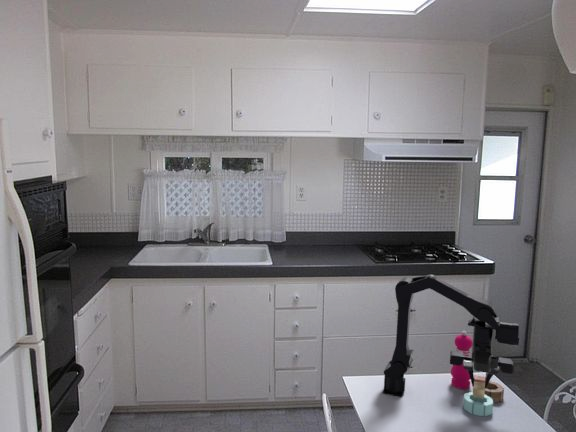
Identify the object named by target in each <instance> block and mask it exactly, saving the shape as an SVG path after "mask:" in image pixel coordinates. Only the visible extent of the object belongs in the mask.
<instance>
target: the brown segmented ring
mask: <svg viewBox="0 0 576 432" xmlns="http://www.w3.org/2000/svg"><path fill="white" fill-rule="evenodd" d="M504 392H505V388H504V387H503V386H502V385H501V384H500V383H498V382H495V381H492V380H490V381H489V383H488V385H487V387H486V389H485V392H484V394H485V395H487V396H489V397H490V398H492V399H493V403H499V402H502V401H503V400H504Z"/></svg>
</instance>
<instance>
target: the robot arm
mask: <svg viewBox="0 0 576 432" xmlns="http://www.w3.org/2000/svg"><path fill="white" fill-rule="evenodd" d="M394 290H395V300H396V303H397V319H396V320H397V321H396V337H395V346H394V347H395V348H394V351H393V354H392V357H391V360H389V362H388V363H387V364H386V367H385V369H384V370H383V375H384V379H383V390H382V393H383V394H385V395H386V394H387V395H392V396H397V397H403V394H404V393H405V392H406V378H405V374H406V373H407V371H408V370H409V369H410V368H411V366H412V363H413V361H414V359H413V354H414V349H410V347H409V335H410V322H411V321H410V320H411V319H410V317H411V305H412V302H413V299H414V295H415V294H417V293H420V292H422V291H426V290H431V291H434V292H436V293H437V294H440V295H441V296H442V297H445V298H446V299H449V300H450V301H452V302H454V303H456V304H458V305H459V306H461V307H463V308H464V309H465V310H466V311H467V312H468V313H469V314H470V315H471V316H472V318H471V319H469V320H468V321H467V326H470V327H473V333H472V334H473V335H472V342H473V344H472V347H471V356H470V355H469V356H463V352H460V351H455V350H451V351H450V352H449V365H451V366H453V365H458V366H460V365H462V364H463V368H464V369H467V371H468V373H469V375H470V384H471V386H472V388H473V387H474V375H475V374H474V371H475V372H484V373H485V376H484V377H485V389H486V387H487V385H488V383H489V381H491V379H492V378H493V376H494V375H498V374H500V372H499V370H500V371H501V372H502V373H504V374H510V375H513V374H514V373H515V365H514V361H513V360H512V359H511V358H506V357H501V356H500V357H498V356H495V355H492V350H493V339H494V340H496V342H497V344H500V345H506V346H507V345H508V346H514V347H519V345H520V334H519V333H520V331H519V330H520V324H519V323H515V322H513V323H511V322H505V321H501V320H500V317H499V316H498V315H497V313H496V312H495V306H494V303H493V302H492V301H490V300H488V299H485V298H482V297H481V296H480V297H479V296H476V295H471V294H469V293H467V292H464V291H463V290H461V289H459V288H457V287H455V286H453V285H452V284H450V283H448V282H447V281H445V280H443V279H441V278H439V277H437V276H436V275H435V274H427V275H423V276H416V277H412V278H410V277H408V276H407V277H403V278H402V277H401V279H399V280H398V282H397V283H396V285H395V286H394ZM494 331H495V332H494ZM493 336H494V338H493Z"/></svg>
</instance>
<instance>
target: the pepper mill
mask: <svg viewBox="0 0 576 432" xmlns="http://www.w3.org/2000/svg"><path fill="white" fill-rule="evenodd" d="M467 334H468V333H467V331H466V330H462V331H461V334H458V335H457V336H456V337H455V338H454V345H455V350H454V351H460V352H463V356H469V357H470V355H471V352H472V344H473V338H472V337H470V336H469V335H467ZM450 368H451V369H450V375H451V376H452V378H451V386H453V387H454V388H457V389H461V390H465V389H467V390H468V389H469V388H470V387H471V379H470V375H469V373H468V371H467V369H464V368H463V364H462V365H460V366H458V365H451V367H450Z"/></svg>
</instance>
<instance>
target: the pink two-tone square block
mask: <svg viewBox="0 0 576 432" xmlns="http://www.w3.org/2000/svg"><path fill="white" fill-rule="evenodd" d="M484 392H485V376H484V375H483V376H482V375H476V374H474V387H473V386H472V393H473V397H476V398H482V399H484Z"/></svg>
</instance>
